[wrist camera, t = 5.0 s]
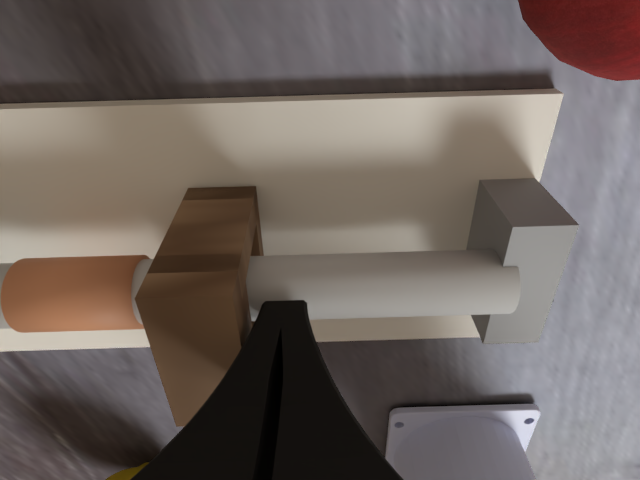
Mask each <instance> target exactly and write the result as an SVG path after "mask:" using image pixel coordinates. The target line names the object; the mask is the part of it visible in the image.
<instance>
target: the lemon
mask: <svg viewBox="0 0 640 480" xmlns="http://www.w3.org/2000/svg"><path fill="white" fill-rule="evenodd" d="M148 463H149V462H146V463H144V464H142V465H140V466H139V467H133V468H129V469H125V470H122V471H120V472H117V473H115V474H113V475H111V476H110V477H108V478H107V479H106V480H130V479H131V478H132V477H133V476H135V475H136V474H137V473H138V472H139V471H140V470H141V469H142V468H144V467H145V466H146V465H147V464H148Z"/></svg>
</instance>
